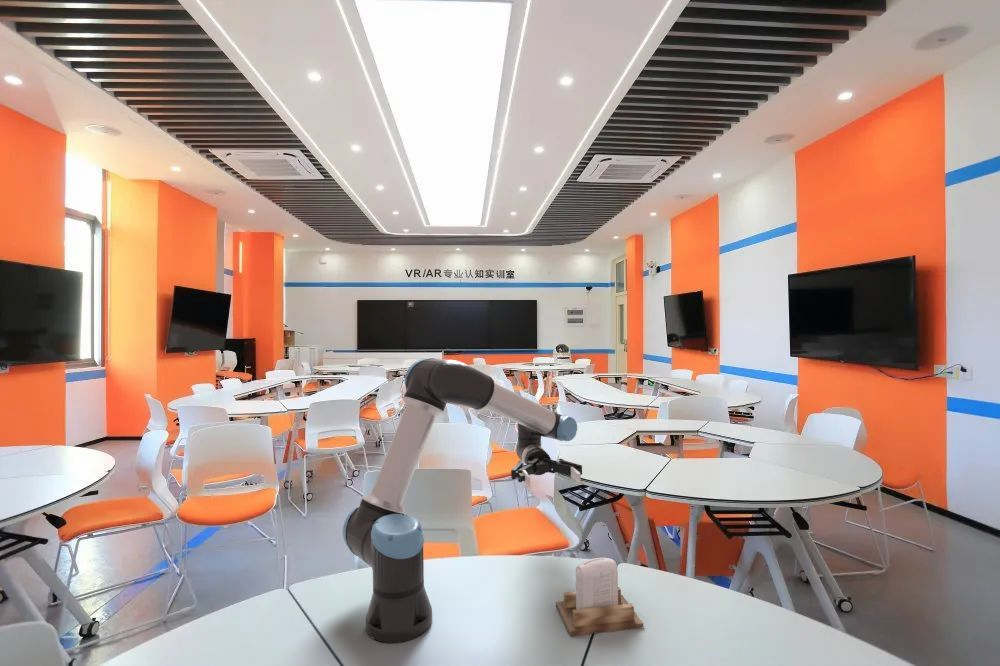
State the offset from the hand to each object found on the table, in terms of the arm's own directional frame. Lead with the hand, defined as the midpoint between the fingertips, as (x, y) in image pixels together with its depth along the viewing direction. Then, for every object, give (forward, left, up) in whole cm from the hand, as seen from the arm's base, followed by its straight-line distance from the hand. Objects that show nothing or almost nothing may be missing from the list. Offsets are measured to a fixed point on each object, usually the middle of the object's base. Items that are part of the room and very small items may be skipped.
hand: (554, 480), depth 128 cm
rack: (+6, -15, -28) cm, 32 cm away
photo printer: (+6, -15, -27) cm, 31 cm away
